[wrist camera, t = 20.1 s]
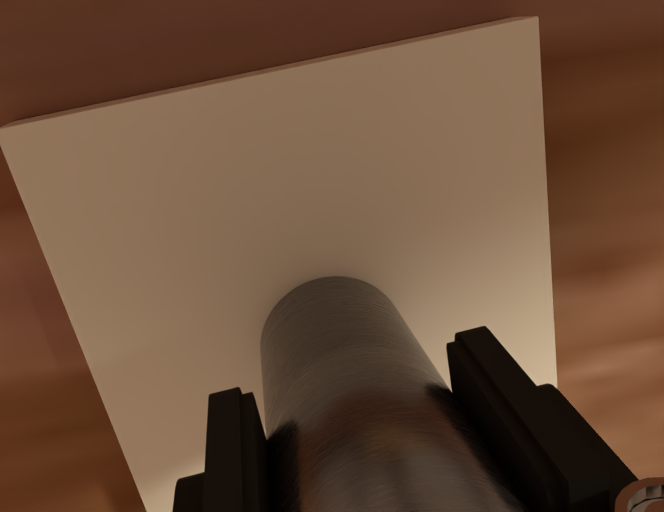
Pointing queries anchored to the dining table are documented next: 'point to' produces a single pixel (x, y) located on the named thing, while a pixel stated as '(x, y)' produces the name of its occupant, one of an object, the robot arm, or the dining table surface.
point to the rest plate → (291, 219)
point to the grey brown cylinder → (366, 412)
